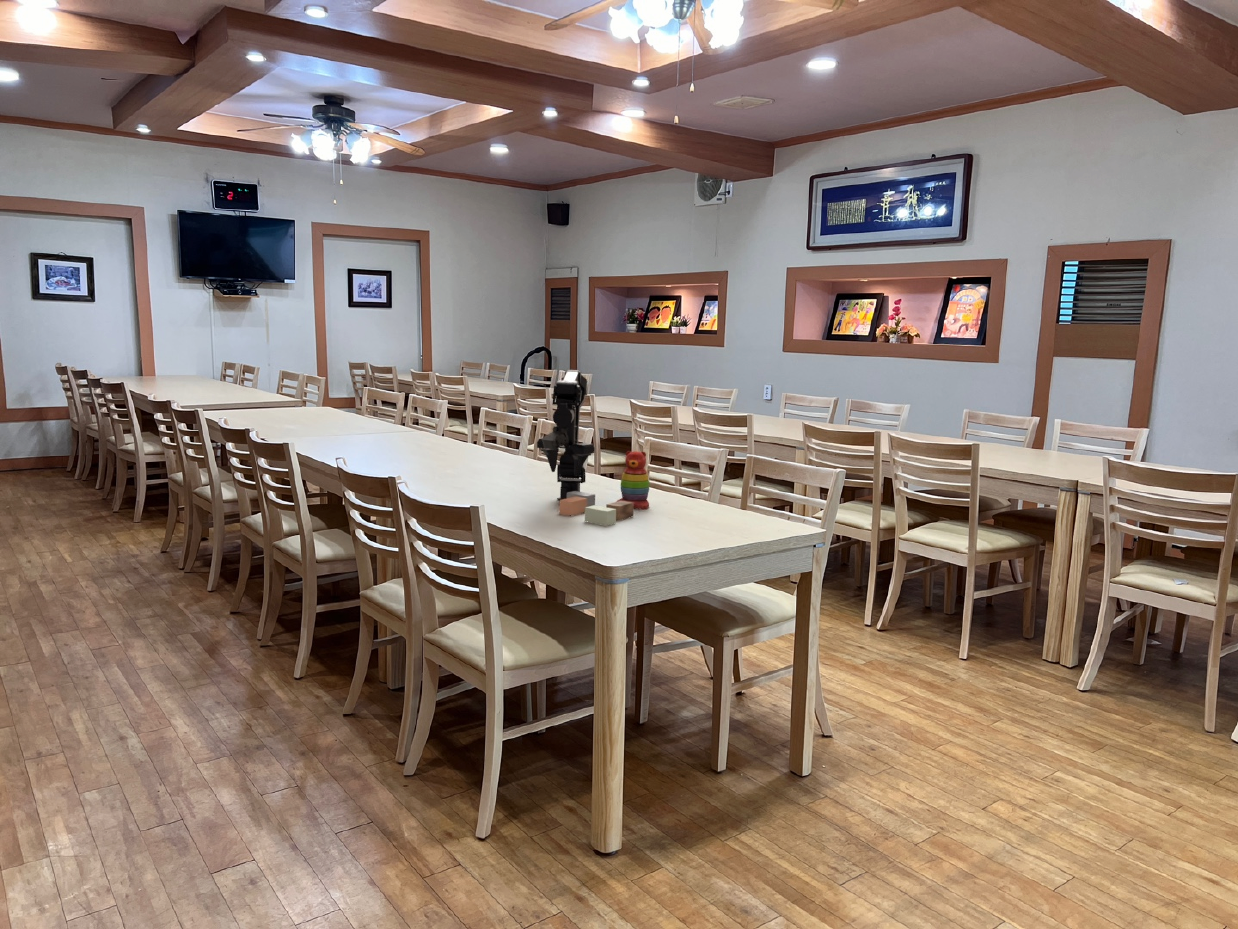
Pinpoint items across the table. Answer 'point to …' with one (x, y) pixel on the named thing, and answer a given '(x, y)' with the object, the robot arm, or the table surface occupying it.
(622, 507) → the walnut block
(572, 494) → the slate block
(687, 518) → the table surface
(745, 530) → the table surface
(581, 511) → the terracotta block
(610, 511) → the sage block
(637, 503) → the stacking bear
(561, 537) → the table surface
